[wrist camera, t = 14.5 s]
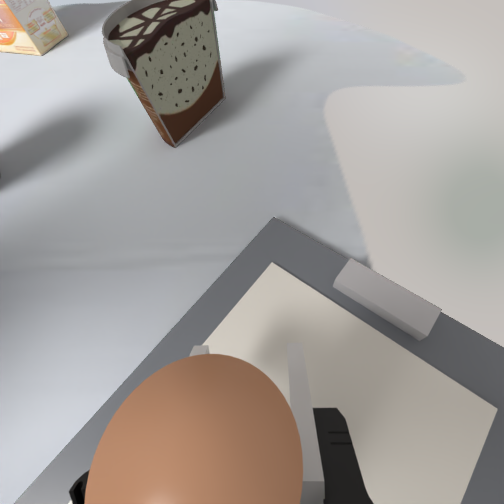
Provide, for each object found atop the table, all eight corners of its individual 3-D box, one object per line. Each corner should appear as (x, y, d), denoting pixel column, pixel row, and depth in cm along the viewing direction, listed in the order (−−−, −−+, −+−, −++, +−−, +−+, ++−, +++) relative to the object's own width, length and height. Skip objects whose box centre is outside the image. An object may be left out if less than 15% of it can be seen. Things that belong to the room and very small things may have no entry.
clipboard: (284, 1243, 7) (283, 1465, 6) (-17, 543, 15) (-51, 558, 14) (560, 386, 16) (589, 383, 14) (274, 221, 24) (273, 207, 22)
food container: (193, 81, 36) (163, -24, 27) (232, 91, 34) (213, -19, 25) (126, 140, 32) (64, 37, 23) (166, 156, 29) (114, 49, 21)
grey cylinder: (253, 609, 11) (157, 750, 3) (195, 514, 14) (54, 455, 6) (313, 514, 13) (348, 452, 5) (253, 444, 16) (212, 323, 7)
